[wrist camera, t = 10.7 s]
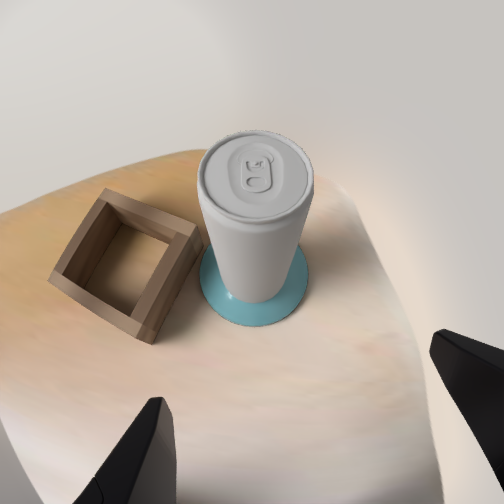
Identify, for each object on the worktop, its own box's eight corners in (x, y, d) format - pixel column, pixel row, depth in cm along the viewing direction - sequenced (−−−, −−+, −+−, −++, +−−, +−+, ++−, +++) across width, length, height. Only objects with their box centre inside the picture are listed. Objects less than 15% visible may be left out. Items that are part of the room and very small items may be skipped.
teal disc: (320, 249, 24) (322, 246, 24) (282, 344, 21) (283, 343, 21) (228, 212, 25) (228, 209, 25) (182, 299, 23) (180, 297, 22)
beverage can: (284, 242, 24) (308, 127, 13) (288, 304, 22) (325, 223, 11) (221, 244, 24) (198, 130, 13) (220, 306, 22) (189, 226, 11)
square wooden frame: (203, 245, 24) (196, 224, 21) (151, 345, 21) (135, 338, 18) (119, 210, 26) (105, 187, 22) (69, 294, 22) (47, 280, 19)
